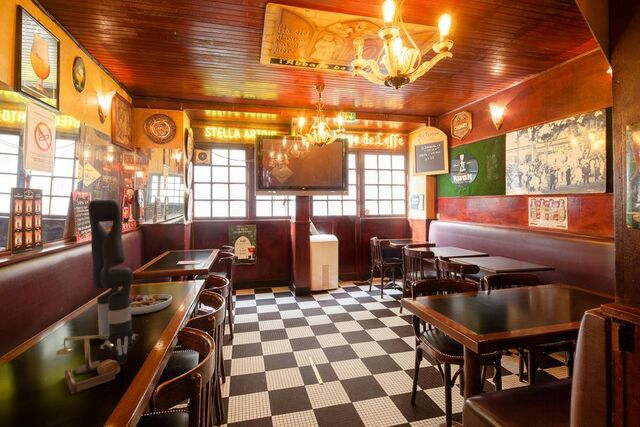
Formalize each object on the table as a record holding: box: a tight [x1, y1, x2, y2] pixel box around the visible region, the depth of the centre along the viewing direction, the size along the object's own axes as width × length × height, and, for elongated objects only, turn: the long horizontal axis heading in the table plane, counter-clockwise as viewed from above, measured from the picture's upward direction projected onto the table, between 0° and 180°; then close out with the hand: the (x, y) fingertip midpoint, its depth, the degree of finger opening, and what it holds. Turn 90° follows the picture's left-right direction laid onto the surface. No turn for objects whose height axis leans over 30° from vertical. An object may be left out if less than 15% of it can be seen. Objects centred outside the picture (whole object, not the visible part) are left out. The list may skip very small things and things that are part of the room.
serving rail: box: [64, 368, 116, 395], centre depth 118 cm, size 16×13×3 cm
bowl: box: [129, 293, 173, 315], centre depth 203 cm, size 30×30×8 cm
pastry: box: [96, 359, 121, 376], centre depth 122 cm, size 9×7×4 cm
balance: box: [55, 334, 115, 376], centre depth 125 cm, size 19×6×14 cm, turn 135°
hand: (122, 363), depth 126 cm, fingers closed
